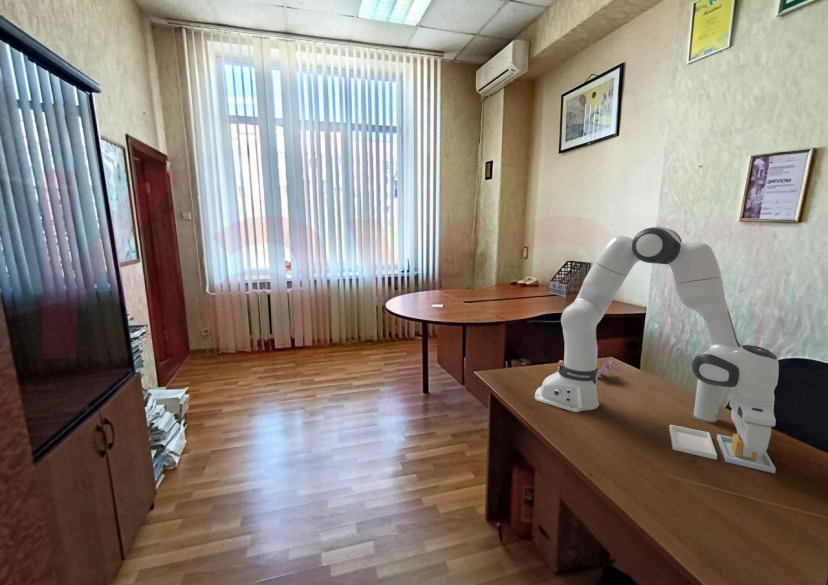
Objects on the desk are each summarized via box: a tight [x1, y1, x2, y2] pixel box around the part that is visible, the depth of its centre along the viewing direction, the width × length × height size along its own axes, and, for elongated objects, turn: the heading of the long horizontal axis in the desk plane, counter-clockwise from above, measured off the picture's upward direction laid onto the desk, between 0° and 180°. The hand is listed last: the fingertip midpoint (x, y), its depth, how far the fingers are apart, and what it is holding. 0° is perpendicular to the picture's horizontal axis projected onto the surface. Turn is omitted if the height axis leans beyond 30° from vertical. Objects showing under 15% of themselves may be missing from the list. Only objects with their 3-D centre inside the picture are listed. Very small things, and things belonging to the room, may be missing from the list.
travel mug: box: [693, 378, 723, 424], centre depth 122 cm, size 6×7×20 cm
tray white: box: [668, 424, 718, 461], centre depth 110 cm, size 10×13×2 cm
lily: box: [598, 358, 616, 382], centre depth 157 cm, size 12×12×10 cm
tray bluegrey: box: [716, 433, 777, 474], centre depth 104 cm, size 10×13×2 cm
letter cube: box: [731, 433, 757, 461], centre depth 104 cm, size 4×4×5 cm
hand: (743, 449), depth 104 cm, fingers closed on letter cube, 4 cm apart
